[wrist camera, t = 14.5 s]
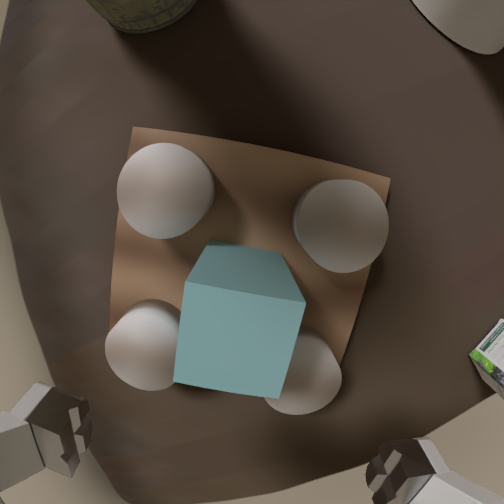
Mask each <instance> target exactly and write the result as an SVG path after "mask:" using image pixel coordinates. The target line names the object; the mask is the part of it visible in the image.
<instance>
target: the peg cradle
mask: <svg viewBox="0 0 504 504" xmlns="http://www.w3.org/2000/svg"><path fill="white" fill-rule="evenodd" d="M390 179H391V178H387V177H384V176H381V175H377V174H374V173H370V172H367V171H363V170H360V169H356V168H352V167H349V166H345V165H341V164H337V163H333V162H330V161H326V160H322V159H317V158H313V157H309V156H305V155H301V154H296V153H292V152H287V151H283V150H278V149H273V148H268V147H264V146H259V145H253V144H248V143H243V142H237V141H232V140H226V139H220V138H214V137H208V136H202V135H195V134H188V133H181V132H174V131H166V130H158V129H150V128H141V127H133V130H132V135H131V140H130V145H129V150H128V156H127V161H126V164H125V165H124V167H123V169H122V171H121V173H120V176H119V179H118V184H117V199H118V204H119V212H118V220H117V228H116V237H115V247H114V257H113V269H112V283H111V301H110V330H109V334H108V336H107V338H106V342H105V353H106V358H107V360H108V363H109V365H110V367H111V368H112V370H113V371H114V372H115V373H116V375H117V376H118V377H119V378H121V379H122V380H123V381H125V382H126V383H127V384H129V385H131V386H133V387H136V388H139V389H142V390H149V391H156V390H162V389H165V388H167V387H169V386H171V385H172V384H174V383H175V382H173V377H174V367H175V358H176V349H177V340H178V332H179V324H180V316H181V308H182V301H183V293H184V286H185V281H186V279H187V277H188V276H189V274H190V272H191V271H192V269H193V267H194V265H195V264H196V262H197V260H198V259H199V257H200V255H201V254H202V252H203V250H204V249H205V247H206V245H207V244H208V242H209V240H210V239H212V240H218V241H223V242H228V243H234V244H239V245H244V246H249V247H255V248H260V249H265V250H271V251H276V252H281V254H282V256H283V258H284V260H285V262H286V264H287V266H288V268H289V270H290V272H291V274H292V276H293V278H294V280H295V282H296V284H297V286H298V288H299V290H300V292H301V294H302V296H303V298H304V300H305V302H306V306H305V309H304V313H303V317H302V321H301V324H300V328H299V332H298V335H297V339H296V342H295V346H294V349H293V353H292V356H291V360H290V363H289V367H288V370H287V373H286V377H285V380H284V383H283V387H282V390H281V393H280V396H279V399H277V398H268V397H264V398H265V400H266V401H267V403H268V404H269V405H270V406H271V407H273V408H274V409H276V410H277V411H279V412H282V413H286V414H291V415H302V414H308V413H311V412H314V411H317V410H319V409H321V408H323V407H324V406H326V405H327V404H328V403H329V402H331V401H332V400H333V398H334V397H335V396H336V394H337V393H338V391H339V389H340V386H341V382H342V374H341V370H340V367H339V366H340V363H341V361H342V358H343V355H344V352H345V349H346V346H347V343H348V340H349V337H350V334H351V331H352V328H353V325H354V322H355V319H356V315H357V312H358V309H359V306H360V302H361V299H362V296H363V292H364V289H365V285H366V282H367V278H368V274H369V271H370V267H371V263H372V262H373V261H374V260H375V259H376V258H377V257H378V255H379V254H380V253H381V251H382V249H383V248H384V245H385V243H386V240H387V237H388V232H389V218H388V213H387V210H386V207H385V204H386V199H387V195H388V190H389V185H390Z"/></svg>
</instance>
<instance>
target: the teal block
mask: <svg viewBox="0 0 504 504" xmlns="http://www.w3.org/2000/svg"><path fill="white" fill-rule="evenodd" d="M305 306H306V302H305V300H304V298H303V296H302V294H301V292H300V290H299V288H298V286H297V284H296V282H295V280H294V278H293V276H292V274H291V272H290V270H289V268H288V266H287V264H286V262H285V260H284V258H283V256H282V254H281V252H276V251H271V250H265V249H260V248H255V247H249V246H244V245H239V244H234V243H228V242H223V241H218V240H212V239H210V240H209V242H208V244H207V245H206V247H205V249H204V250H203V252H202V254H201V255H200V257H199V259H198V260H197V262H196V264H195V265H194V267H193V269H192V271H191V272H190V274H189V276H188V277H187V279H186V281H185V286H184V293H183V301H182V308H181V316H180V324H179V332H178V340H177V349H176V358H175V367H174V377H173V382H178V383H183V384H187V385H193V386H198V387H203V388H208V389H214V390H220V391H226V392H232V393H239V394H246V395H253V396H260V397H268V398H277V399H279V396H280V393H281V390H282V387H283V383H284V380H285V377H286V373H287V370H288V367H289V363H290V360H291V356H292V353H293V349H294V346H295V342H296V339H297V335H298V332H299V328H300V324H301V321H302V317H303V313H304V309H305Z"/></svg>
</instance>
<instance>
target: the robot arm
mask: <svg viewBox="0 0 504 504" xmlns="http://www.w3.org/2000/svg"><path fill="white" fill-rule="evenodd" d="M412 1H413V3H414V4H415V5H416V6H417V8H418V9H419V10H420V11H421V12H422V13H423V15H424V16H425V17H426V18H427V19H428V20H429V21H430V22H431V23H432V24H433V25H434V26H435V27H436V28H438V29H439V30H440V31H441V32H442V33H444V34H445V35H446V36H447V37H449V38H450V39H452V40H453V41H454V42H456V43H457V44H459V45H461V46H463V47H465V48H467V49H469V50H471V51H473V52H476V53H480V54H494V53H497V52H499V51H500V50H501V49H502V48H503V47H504V0H412ZM89 410H90V409H89V403H88V400H86V399H85V398H82V397H79V396H77V395H74V394H71V393H69V392H66V391H64V390H61V389H59V388H56V387H53V386H51V385H48V384H46V383H44V382H41V381H39V382H36V383H35V384H34V385H33V386H32V387H31V388H30V390H29V391H28V392H27V393H26V394H25V395H24V397H22V399H21V400H20V401H19V402H18V403H17V404H16V405H15V407H14V408H13V409H12V410H11V411H10V412H9V413H8V412H6V411H3V412H0V492H1V491H3V490H5V489H7V488H9V487H11V486H13V485H15V484H17V483H19V482H21V481H23V480H25V479H27V478H28V477H30V476H32V475H34V474H36V473H38V472H40V471H41V470H43V469H45V468H44V467H46V468H48V469H51V470H53V471H55V472H58V473H60V474H63V475H66V476H68V477H71V478H72V477H73V475H74V473H75V471H76V469H77V467H78V465H79V463H80V459H79V454H80V453H82V452H84V451H86V449H87V447H88V445H89V443H90V439H91V435H92V424H91V420H90V419H89V418H88V417H87V413H88V412H89ZM378 453H379V455H377V456H376V457H374V458H373V459H371V461H370V463H369V464H368V466H367V470H366V482H367V485H368V488H370V489H371V490H372V491H374V492H375V493H374V495H373V497H372V500H373V503H374V504H504V498H502V497H501V496H499V495H496V494H495V493H493V492H491V491H489V490H487V489H486V488H484V487H482V486H480V485H479V484H477V483H475V482H473V481H471V480H470V479H468V478H466V477H465V476H463V475H461V474H459V473H458V472H456V471H454V470H453V471H450V469H449V468H448V466H447V465H446V463H445V461H444V460H443V458H442V456H441V455H440V453H439V451H438V450H437V448H436V447H435V445H434V443H433V442H432V440H431V439H430V438H428V437H421V438H413V439H401V440H387V441H384V442H383V443H381V445H380V446H379V448H378ZM0 504H5V503H4V502H3V500H2V499H1V497H0Z"/></svg>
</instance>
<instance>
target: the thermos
mask: <svg viewBox="0 0 504 504" xmlns="http://www.w3.org/2000/svg"><path fill="white" fill-rule="evenodd" d="M86 1H87V2H88V3H89V4H90V6H91V7H92V8H93V9H94V10H95V11H96V12H97V13H99V14H100V15H101V16H102V17H103V18H105V19H106V20H107V21H108V22H109V23H110V24H111V25H112V26H113V27H115V28H116V29H117V30H120V31H123V32H126V33H148V32H152V31H156V30H160V29H162V28H164V27H166V26H169V25H171V24H173V23H175V22H176V21H177V20H179V19H180V18H181V17H183V16H184V15H185V14H187V13H188V12H189V10H190V9H191V8H192V7H193V5H194V4H195V3H196V2H197V0H86Z"/></svg>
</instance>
